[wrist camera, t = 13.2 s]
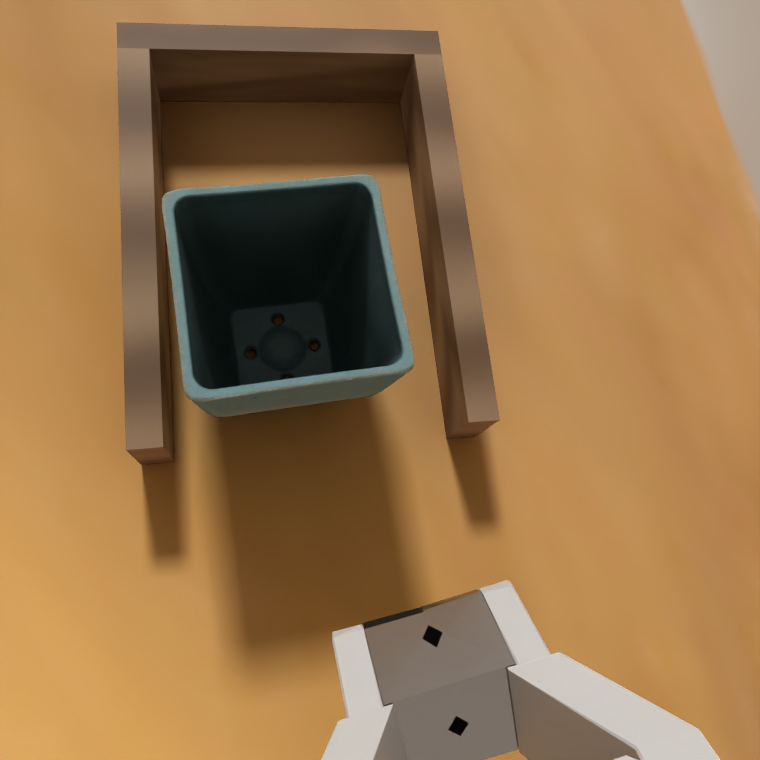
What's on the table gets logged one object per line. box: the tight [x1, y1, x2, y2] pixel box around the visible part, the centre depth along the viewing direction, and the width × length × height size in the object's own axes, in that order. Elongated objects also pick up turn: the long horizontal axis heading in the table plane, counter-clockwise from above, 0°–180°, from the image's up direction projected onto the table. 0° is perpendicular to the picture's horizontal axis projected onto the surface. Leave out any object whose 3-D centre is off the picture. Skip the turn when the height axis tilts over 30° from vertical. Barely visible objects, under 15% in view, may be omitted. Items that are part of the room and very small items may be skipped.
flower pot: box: [162, 174, 414, 417], centre depth 32 cm, size 9×9×9 cm
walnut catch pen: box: [117, 23, 500, 465], centre depth 36 cm, size 22×16×4 cm
